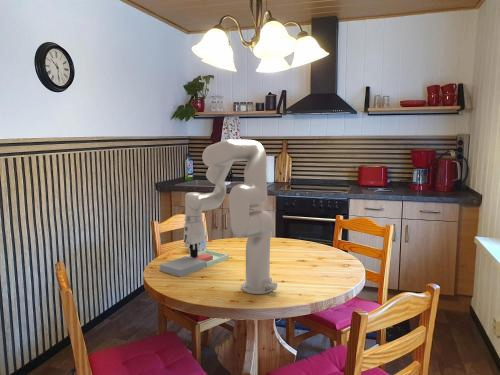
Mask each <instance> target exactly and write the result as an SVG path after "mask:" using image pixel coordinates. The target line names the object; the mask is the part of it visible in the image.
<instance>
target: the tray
mask: <svg viewBox="0 0 500 375" xmlns="http://www.w3.org/2000/svg"><path fill="white" fill-rule="evenodd" d="M203 253H204V254H209V255H213V260H211V261H208V262H206V268H209V267H212V266H214V265H216V264H218V263H219V264H220V263H221V262H224V261H228V260H229V258H230V256H229V254H228V253H223V252H218V251H214V250H209V249H207V250H204V251H201V252H198V255H200V254H203ZM186 256H187V257H191V256H190V254H189V255H186ZM191 258H192V257H191Z"/></svg>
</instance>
